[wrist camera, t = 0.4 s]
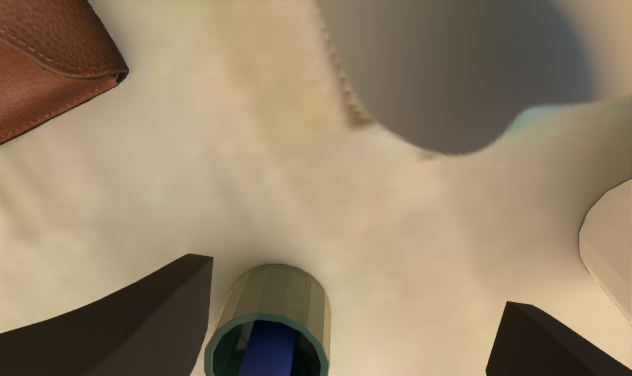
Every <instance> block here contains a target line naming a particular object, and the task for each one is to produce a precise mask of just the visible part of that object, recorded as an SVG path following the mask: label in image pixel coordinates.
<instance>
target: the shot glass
mask: <svg viewBox="0 0 632 376" xmlns="http://www.w3.org/2000/svg"><path fill="white" fill-rule="evenodd" d="M579 251H580V257H581V259H582V261H583V263H584V264H585V266H586V268H587V270H588V272H589V273H590V275H591V276H592V277H593V279H594V280H595V281H596V282H597V283H598V285H599V286H600V287H601V288H602V290H603V291H604V292H605V293H606V295H607V296H608V297H609V298H610V300H611V301H612V302H613V303H614V305H615V306H616V307H617V308H618V310H619V311H620V312H621V313H622V315H623V316H624V317H625V318H626V320H627V321H628V322H629V323H630V325H631V326H632V179H630V180H628V181H626V182H624V183H622V184H621V185H619V186H617V187H615V188H613V189H611V190H609V191H608V192H606V193H605V194H604V195H603V196H602V197H601V198H600V199H599V200H598V201H597V203H596V204H595V205H594V206H593V207H592V208H591V209H590V210H589V211H588V213H587V215H586V218H585V220H584V223H583V225H582V228H581V230H580V233H579Z"/></svg>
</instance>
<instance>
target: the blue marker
mask: <svg viewBox="0 0 632 376" xmlns="http://www.w3.org/2000/svg"><path fill="white" fill-rule="evenodd" d="M295 335H296V329H294V328H292V327H290V326H288V325H286V324H283V323H281V322H274V321H265V320H256V321H254V323H253V327H252V330H251V334H250V337H249V341H248V344H247V347H246V351H245V354H244V358H243V361H242V364H241V368H240V371H239V375H238V376H290V371H291V364H292V357H293V349H294V342H295Z"/></svg>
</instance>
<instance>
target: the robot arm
mask: <svg viewBox="0 0 632 376" xmlns="http://www.w3.org/2000/svg"><path fill="white" fill-rule="evenodd" d="M212 269H213V257H209V256H203V255H196V254H186V255H184V256H182V257H180V258H178V259H177V260H175V261H173V262H171V263H169V264H168V265H166V266H164V267H162V268H160V269H159V270H157V271H155V272H153V273H151V274H150V275H148V276H146V277H144V278H142V279H140V280H139V281H137V282H135V283H133V284H131V285H129V286H127V287H125V288H122V289H120V290H118V291H116V292H114V293H112V294H110V295H108V296H106V297H104V298H102V299H100V300H97V301H95V302H93V303H90V304H88V305H86V306H83V307H81V308H78V309H76V310H73V311H70V312H67V313H65V314H62V315H59V316H57V317H54V318H51V319H48V320H45V321H42V322H38V323H35V324H31V325H28V326H25V327H21V328H18V329H14V330H11V331H8V332H4V333H1V334H0V376H190V374H191V372H192V370H193V368H194V366H195V364H196V361H197V358H198V355H199V353H200V350H201V347H202V344H203V341H204V338H205V335H206V332H207V328H208V316H209V305H210V293H211V281H212ZM485 371H486V375H487V376H632V370H631V369H629V368H628V367H626V366H625V365H623V364H622V363H620V362H618V361H617V360H615V359H614V358H612V357H611V356H609V355H608V354H606V353H605V352H604V351H602V350H601V349H599V348H598V347H596V346H595V345H593V344H592V343H590V342H589V341H587V340H586V339H585V338H583V337H582V336H580V335H579V334H577V333H576V332H574V331H573V330H571V329H570V328H569V327H567V326H566V325H564V324H563V323H561V322H560V321H558V320H557V319H555V318H554V317H552V316H551V315H549V314H547V313H546V312H544V311H542V310H541V309H539V308H537V307H535V306H533V305H530V304H523V303H516V302H510V301H507V302H506V306H505V309H504V312H503V315H502V319H501V322H500V325H499V328H498V332H497V335H496V338H495V341H494V344H493V348H492V351H491V354H490V357H489V361H488V364H487V367H486V370H485Z"/></svg>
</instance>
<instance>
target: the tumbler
mask: <svg viewBox="0 0 632 376" xmlns="http://www.w3.org/2000/svg"><path fill="white" fill-rule="evenodd" d="M256 320H265V321H274V322H281V323H283V324H286V325H288V326H290V327H292V328H294V329H296V335H295V342H294V349H293V357H292V364H291V371H290V376H328V374H329V366H330V332H331V311H330V304H329V300H328V297H327V295H326V293H325V291H324V289H323V288H322V286H321V285H320V284H319V283H318V282H317V281H316V280H315V279H314V278H313V277H312V276H311V275H309V274H308V273H306V272H304V271H303V270H300V269H298V268H295V267H292V266H288V265H282V264H270V265H264V266H260V267H257V268H254V269H252V270H250V271H248V272H247V273H245V274H244V275H242V276H241V277H240V278H239V279H238V280H237V281H236V282H235V284H234V285H233V287H232V288H231V291H230V293H229V295H228V297H227V299H226V300H225V303H224V305H223V308H222V310H221V312H220V315H219V317H218V319H217V322H216V324H215V326H214V329H213V331H212V334H211V336H210V338H209V341H208V343H207V345H206V348H205V352H204V372H205V374H206V376H238V375H239V371H240V368H241V364H242V361H243V358H244V354H245V351H246V347H247V344H248V341H249V337H250V334H251V330H252V327H253V323H254V321H256Z"/></svg>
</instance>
